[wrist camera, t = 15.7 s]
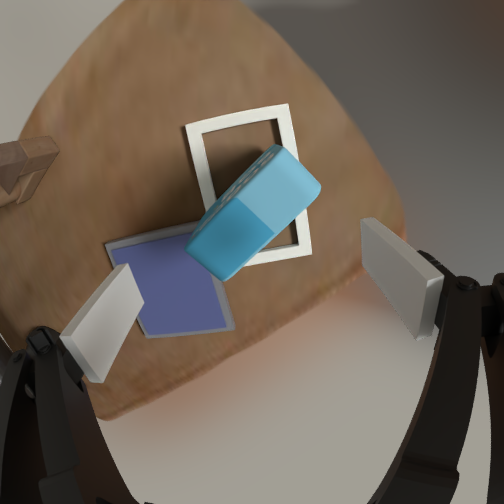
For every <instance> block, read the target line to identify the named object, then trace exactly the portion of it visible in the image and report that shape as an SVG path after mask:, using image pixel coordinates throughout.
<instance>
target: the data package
mask: <svg viewBox="0 0 504 504" xmlns="http://www.w3.org/2000/svg"><path fill="white" fill-rule="evenodd" d="M320 190H321V185H320V184H319V182H318V181H317V180H316V179H315V178H314V177H313V176H312V175H311V174H310V173H309V172H308V171H307V170H306V169H305V167H304V166H303V165H302V164H301V163H300V162H299V161H298V160H297V159H296V158H295V157H294V156H293V155H292V154H291V153H290V152H289V151H288V150H287V149H286V148H285V147H282V146H279V145H276V144H273V145H272V146H271V147H269V148H268V149H267V150H266V151H265V152H264V153H263V154H262V155H261V156H260V157H259V158H258V159H257V160H256V161H255V162H254V163H253V164H252V165H251V166H250V167H249V168H248V169H247V170H246V171H245V172H244V173H243V174H242V175H241V176H240V177H239V178H238V179H237V180H236V181H235V182H234V183H233V184H232V185H231V186H230V187H229V188H228V189H227V190H226V191H225V192H224V193H223V194H222V195H221V196H220V198H219V199H218V200H217V201H216V202H215V203H214V204H213V205H212V206H211V207H210V208H209V209H208V210H207V212H206V213H205V214H204V215H203V217H202V218H201V220H200V222H199V223H198V225H197V227H196V228H195V230H194V232H193V233H192V235H191V237H190V238H189V240H188V242H187V243H186V245H185V247H184V251H185V252H186V253H188V254H189V255H190V256H191V257H192V258H193V259H195V260H196V261H197V262H198V263H199V264H201V265H202V266H203V267H204V268H205V269H207V270H208V271H209V272H210V273H211V274H213V275H214V276H215V277H216V278H217V279H219V280H220V281H226V280H228V279H230V278H231V277H232V276H233V275H234V274H235V273H236V272H237V271H239V270H240V269H241V268H242V267H243V266H244V265H245V264H246V263H247V262H248V261H249V260H250V259H252V258H253V257H254V256H255V255H256V254H257V253H258V252H259V251H260V250H261V249H262V248H263V247H265V246H266V245H267V244H268V243H269V242H270V241H271V240H272V239H273V238H274V237H275V236H276V235H278V234H279V233H280V232H281V231H282V230H283V229H284V228H285V227H286V226H287V225H288V224H289V223H290V222H292V221H293V220H294V219H295V218H296V217H297V216H298V215H299V214H300V213H301V212H302V211H303V210H304V209H306V208H307V207H308V206H309V205H310V204H311V203H312V202H313V201H314V200H315V199H316V197H317V196H318V194H319V193H320Z"/></svg>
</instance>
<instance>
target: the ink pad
mask: <svg viewBox="0 0 504 504" xmlns="http://www.w3.org/2000/svg"><path fill="white" fill-rule="evenodd" d="M199 222H200V220H198V221H194V222H189V223H184V224H180V225H175V226H171V227H166V228H162V229H158V230H153V231H149V232H145V233H140V234H136V235H132V236H128V237H124V238H120V239H116V240H112V241H108V242H107V243H106V244H105V247H106V249H107V252H108V254H109V257H110V260H111V262H112V265H113V267H114V269H115V267H116V266H117V265H121V264H126V263H128V264H129V267H130V269H131V272H132V274H133V277H134V279H135V282H136V284H137V287H138V289H139V291H140V294H141V296H142V298H143V300H144V304H143V306H142V308H141V310H140V312H139V313H138V315H137V317H136V318H137V320H138V322H139V324H140V326H141V328H142V330H143V332H144V334H145V336H146V338H161V337H174V336H185V335H196V334H205V333H214V332H222V331H230V330H235V322H234V319H233V316H232V312H231V309H230V306H229V302H228V299H227V295H226V292H225V289H224V285H223V282H222V281H220V280H219V279H217V278H216V277H215V276H214V275H213V274H211V273H210V272H209V271H208V270H207V269H205V268H204V267H203V266H202V265H201V264H199V263H198V262H197V261H196V260H195V259H193V258H192V257H191V256H190V255H189V254H188V253H186V252H185V251H184V247H185V245H186V243H187V242H188V240H189V238H190V237H191V235H192V233H193V232H194V230H195V228H196V227H197V225H198V223H199Z"/></svg>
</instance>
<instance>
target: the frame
mask: <svg viewBox="0 0 504 504" xmlns="http://www.w3.org/2000/svg"><path fill="white" fill-rule="evenodd" d="M275 118H277V121H278V126H279V131H280V136H281V141H282V146H283V147H285V148H286V149H287V150H288V151H289V152H290V153H291V154H292V155H293V156H294V157H295V158H296V159H297V160H298V161H299V159H298V153H297V148H296V142H295V137H294V132H293V126H292V121H291V116H290V111H289V106H288V104H282V105H275V106H269V107H263V108H257V109H252V110H247V111H241V112H237V113H232V114H227V115H223V116H218V117H214V118H210V119H206V120H202V121H198V122H194V123H191V124H187V125H185V126H186V131H187V135H188V140H189V144H190V148H191V153H192V157H193V161H194V165H195V170H196V174H197V178H198V182H199V186H200V190H201V194H202V198H203V202H204V206H205V210H206V212H207V210H208V209H209V208H210V207H211V206H212V205H213V204H214V203H215V202H216V201H217V199H216V194H215V190H214V186H213V182H212V178H211V173H210V169H209V165H208V160H207V156H206V152H205V147H204V143H203V138H202V133H206V132H210V131H215V130H219V129H223V128H228V127H232V126H237V125H242V124H247V123H252V122H258V121H263V120H269V119H275ZM295 223H296V230H297V237H298V243H297V244H292V245H286V246H280V247H275V248H269V249H264V250H260V251H259V252H258V253H257V254H256V255H255V256H254V257H253V258H252V259H250V260H249V261H248V262H247V263H246V264H245V265H244V266H248V265H254V264H260V263H265V262H271V261H277V260H282V259H288V258H294V257H299V256H305V255H310V254H312V250H311V241H310V233H309V225H308V218H307V211H306V209H304V210H303V211H302V212H301V213H300V214H299V215H298V216H297V217H296V218H295Z"/></svg>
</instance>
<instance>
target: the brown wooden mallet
mask: <svg viewBox="0 0 504 504" xmlns="http://www.w3.org/2000/svg"><path fill="white" fill-rule="evenodd" d="M58 153H59V149H58V147H57V146H56V144H55V143H54V141H53V140H52V138H51V137H50V136H45V137H38V138H31V139H25V140H20V141H13V142H8V143H3V144H0V207H3V206H5V205H7V204H9V203H11V202H13V201H15V202H16V204H19V203H21V202H24V201H26V200H28V199H30V198H31V196H32V194H33V193H34V191H35V189H36V187H37V186H38V184H39V182H40V181H41V179H42V177H43V176H44V174H45V172H46V171H47V169H48V167H49V166H50V165H51V163H52V162H53V160H54V159H55V157H56V156H57V154H58Z"/></svg>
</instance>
